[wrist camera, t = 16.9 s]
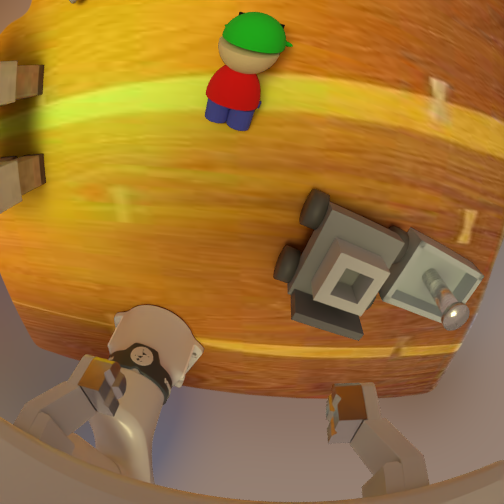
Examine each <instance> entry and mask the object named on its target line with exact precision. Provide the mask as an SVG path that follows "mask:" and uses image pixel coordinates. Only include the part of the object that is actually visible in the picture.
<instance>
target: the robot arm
mask: <svg viewBox="0 0 504 504" xmlns="http://www.w3.org/2000/svg"><path fill="white" fill-rule="evenodd" d="M114 322H115V327H116V329H115V331H114V333H113V335H112V337H111V339H110V341H109V343H108V348H109V353H110V357H109V359H108V360H107V359H103V358H99V357H95V356H91V355H88V354H86V355H84V356H83V357H82V359H81V360H80V362H79V364H78V365H77V367H76V368H75V370H74V372H73V373H72V375H71V376H70V378H69V380H68V381H67V382H66V381H64V382H62V383H60V384H59V385H57V386H55V387H53V388H52V389H50V390H48V391H46V392H45V393H43V394H41V395H39V396H38V397H36V398H34V399H33V400H31V401H29V402H27V403H26V404H25V405H24V407H23V409H22V410H21V412H20V414H19V415H18V417H17V419H16V420H15V422H14V424H13V425H12V424H11V423H9V422H7V421H6V420H4V419H3V418H1V417H0V504H504V460H500V461H497V462H495V463H492V464H490V465H487V466H485V467H482V468H480V469H477V470H474V471H472V472H469V473H466V474H463V475H460V476H457V477H454V478H451V479H448V480H445V481H442V482H438V483H434V484H431V485H429V479H428V474H427V469H426V464H425V459H424V455H423V454H422V453H421V452H420V451H419V450H418V449H417V448H416V447H414V446H413V445H412V444H411V443H410V442H409V441H408V440H407V439H406V438H405V437H404V436H403V435H402V434H401V433H400V432H399V431H398V430H397V429H396V428H395V427H394V426H393V425H392V424H391V423H390V422H389V421H388V420H387V419H386V418H382V416H381V411H380V407H379V402H378V397H377V393H376V388H375V385H374V383H372V382H371V383H344V384H333V385H332V388H331V395H330V396H329V397H328V400H327V405H326V419H327V420H328V421H329V422H330V423H329V426H328V428H327V435H328V444H332V443H350V445H351V447H352V448H353V449H354V451H355V452H356V453H357V455H358V456H359V457H360V459H361V460H362V461H363V462H364V464H365V465H366V466H367V468H368V469H369V470H370V472H371V473H372V474H373V477H372V478H371V479H370V480H368V481H367V483H365V484H364V485H363V486H362V495H363V498H358V499H348V500H339V501H323V502H266V501H265V502H264V501H250V500H240V499H239V500H238V499H230V498H222V497H214V496H208V495H202V494H196V493H191V492H186V491H181V490H176V489H172V488H167V487H163V486H159V485H155V482H154V477H153V469H152V441H153V435H154V431H155V427H156V424H157V421H158V418H159V414H160V411H161V408H162V405H164V404H165V403H166V401H167V399H168V398H169V395H170V392H171V388H172V387H173V386H176V387H178V388H180V387H181V386H182V384H183V381H184V379H185V374H186V373H187V372H188V370H189V369H190V368H191V367H192V366H193V364H194V363H195V362H196V361H197V360H198V358H199V357H200V356H201V355H202V353H203V351H204V348H203V347H202V346H201V344H199V343H198V342H197V341H196V340H195V339H194V337H193V335H192V333H191V331H190V329H189V327H188V326H187V325H186V324H185V323H184V322H183V321H182V320H181V319H180V318H179V317H178V316H176V315H175V314H173V313H172V312H170V311H168V310H166V309H163V308H160V307H157V306H152V305H141V306H137V307H134V308H132V309H131V310H129V311H127V312H119V313H116V315H115V317H114ZM88 420H89V423H90V425H91V427H92V430H93V432H94V436H95V442H96V449H95V448H94V447H93V446H91V445H90V444H89V443H87V442H86V441H85V440H83V439H82V438H81V437H80V436H78V435H77V434H75V433H73V432H74V431H75V430H76V429H77V428H79V427H80V426H81V425H83V424H84V423H85V422H86V421H88Z"/></svg>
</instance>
